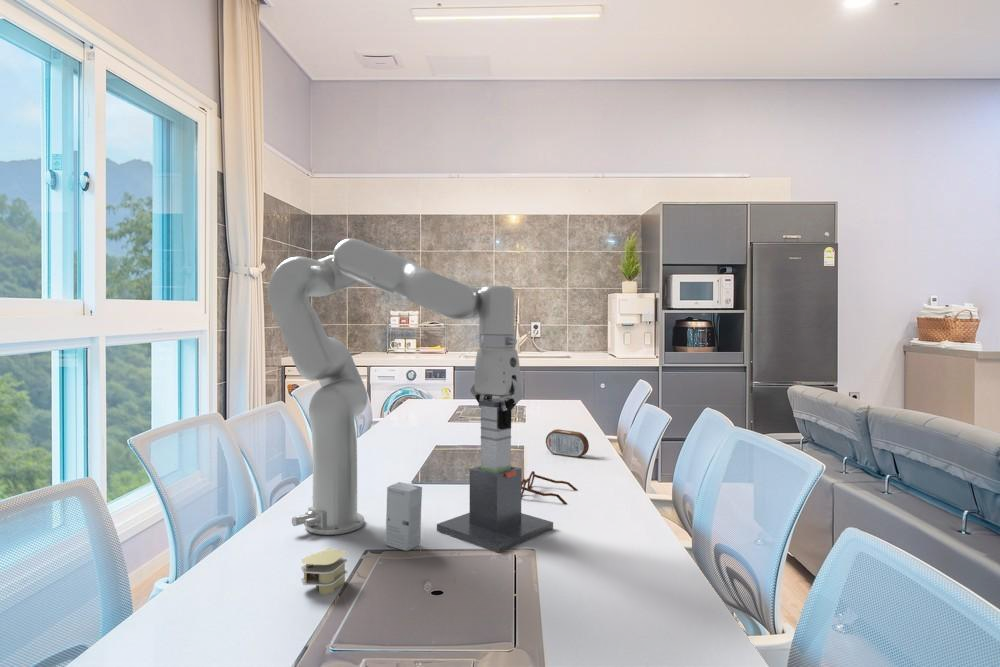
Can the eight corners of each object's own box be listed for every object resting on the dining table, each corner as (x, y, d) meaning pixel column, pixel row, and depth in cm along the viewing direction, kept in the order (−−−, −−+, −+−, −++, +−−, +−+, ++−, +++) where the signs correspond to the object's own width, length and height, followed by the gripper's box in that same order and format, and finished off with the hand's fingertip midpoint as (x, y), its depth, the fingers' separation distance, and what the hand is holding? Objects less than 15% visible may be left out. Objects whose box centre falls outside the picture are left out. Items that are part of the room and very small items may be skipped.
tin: (589, 457, 199) (589, 432, 198) (585, 459, 196) (585, 434, 196) (548, 452, 207) (548, 427, 206) (544, 453, 204) (544, 429, 204)
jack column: (494, 501, 127) (494, 402, 127) (478, 497, 130) (478, 400, 130) (512, 495, 132) (513, 399, 131) (496, 491, 135) (497, 397, 134)
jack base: (498, 552, 119) (499, 485, 118) (436, 530, 130) (437, 469, 130) (553, 528, 132) (553, 468, 132) (492, 510, 144) (492, 454, 144)
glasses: (531, 486, 166) (531, 469, 166) (577, 491, 162) (578, 473, 162) (516, 500, 154) (517, 481, 153) (567, 506, 149) (567, 486, 149)
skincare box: (384, 545, 122) (384, 486, 122) (398, 538, 126) (398, 481, 125) (408, 551, 119) (408, 491, 118) (422, 544, 123) (422, 485, 122)
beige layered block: (322, 572, 110) (321, 543, 110) (363, 581, 106) (363, 550, 106) (283, 596, 100) (283, 564, 100) (327, 606, 97) (326, 573, 97)
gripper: (538, 344, 127) (537, 429, 128) (479, 341, 138) (479, 420, 139) (515, 345, 122) (514, 434, 122) (456, 342, 133) (456, 424, 133)
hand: (495, 425), depth 131 cm, fingers closed on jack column, 4 cm apart
